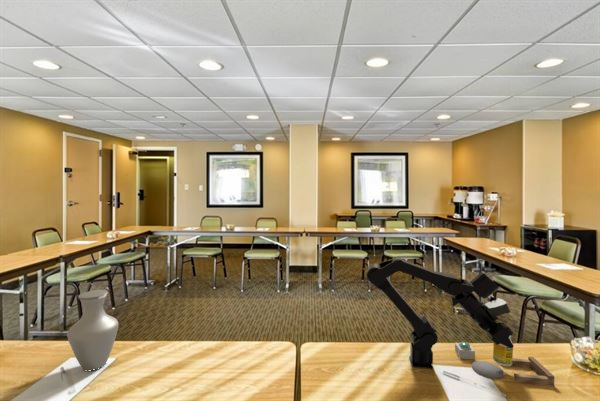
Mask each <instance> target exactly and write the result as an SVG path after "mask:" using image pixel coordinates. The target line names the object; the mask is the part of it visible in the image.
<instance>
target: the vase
mask: <svg viewBox="0 0 600 401" xmlns="http://www.w3.org/2000/svg"><path fill="white" fill-rule="evenodd" d="M108 293H109V291H107V290H106V289H95V290H88V291H85V292H82V293H80V294H79V295H77V298H78V299H79V301H80V303H81V305H82V308H83V311H82V315H81V317H80V318H79V320H77V321H76V322H75V323H74V324H72V325H71V327H70V328H69V329H68V330H67V336H66V338H67V341H68V344H69V345H70V347H71V350H72V352H73V354H74V356H75V359H76V361H77V362H78V365H79V366H80V367H81V368H82V370H83V369H84V370H93V369H98V368H100V367H102V366H104V365H105V366H106V365H107V363H106V362H108V360H109V357H110V354H111V352H112V350H113V347H114V344H115V341H116V337H117V333H118V330H119V324H120V323H119V321H118V319H117V318H115V317H114V316H112V315H109V314H107V313H106V311H105V309H104V302H105V300H106V297H107V295H108ZM105 366H104V367H105ZM102 368H103V367H102ZM100 369H101V368H100ZM84 370H83V371H84ZM98 370H99V369H98Z"/></svg>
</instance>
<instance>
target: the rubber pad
mask: <svg viewBox="0 0 600 401" xmlns="http://www.w3.org/2000/svg"><path fill="white" fill-rule="evenodd" d="M471 369H472V370H473V371H474V372H475V373H476V374H478V375H479V376H482V377H485V378H488V379H494V380H495V379H496V380H497V379H499V380H500V379H502V378H503V377H505V372H504V370H503V369H502V368H501V367H499V366H498V365H496V364H494V363H492V362H489V361H488V362H487V361H484V360H483V361H482V360H481V361H480V360H479V361H478V360H476V361H473V362H472V363H471Z"/></svg>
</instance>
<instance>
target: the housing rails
mask: <svg viewBox="0 0 600 401" xmlns="http://www.w3.org/2000/svg"><path fill="white" fill-rule="evenodd" d="M510 367H515V368H527V369H529V368H530V369H531V370H532V371H533V372H534V373H535V375H534V374H525V373H524V374H523V373H513V381H514V382H515V383H517V384H527V385H528V384H529V385H541V386H550V387H555V375H553V374H552V373H551V372H550V371H549V369H547V368H546V367H545V366H544V365H543V364H541V362H539V361H538V360H537V359H536V358H535V357H534V356H528V358H527V359H523V358H514V357H512V365H511V366H510Z"/></svg>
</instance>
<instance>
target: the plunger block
mask: <svg viewBox="0 0 600 401" xmlns="http://www.w3.org/2000/svg"><path fill="white" fill-rule="evenodd" d="M454 351H455V353H456V355H457V357H458V358H459V359H466V360H467V359H468V360H469V359H470V360H476V350H475V349H474V347H473V346H472V345H471V344H470V347H469V349H461V346H460V342H459V343H458V342H455V344H454Z"/></svg>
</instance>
